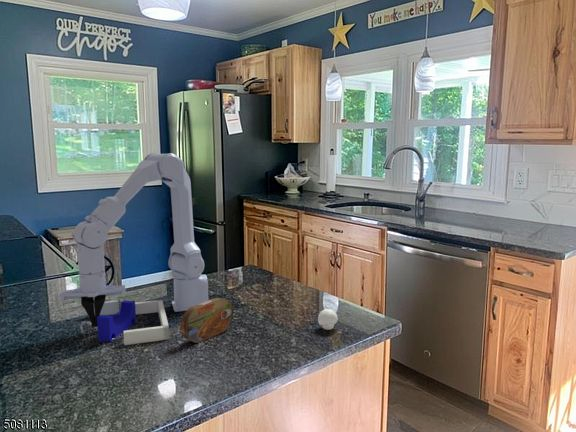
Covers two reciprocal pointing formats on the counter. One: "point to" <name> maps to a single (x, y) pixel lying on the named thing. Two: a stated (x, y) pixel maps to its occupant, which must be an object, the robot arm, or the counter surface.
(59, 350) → the counter surface
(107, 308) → the gate
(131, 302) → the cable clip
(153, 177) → the robot arm
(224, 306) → the tin
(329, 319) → the mushroom
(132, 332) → the bracket
